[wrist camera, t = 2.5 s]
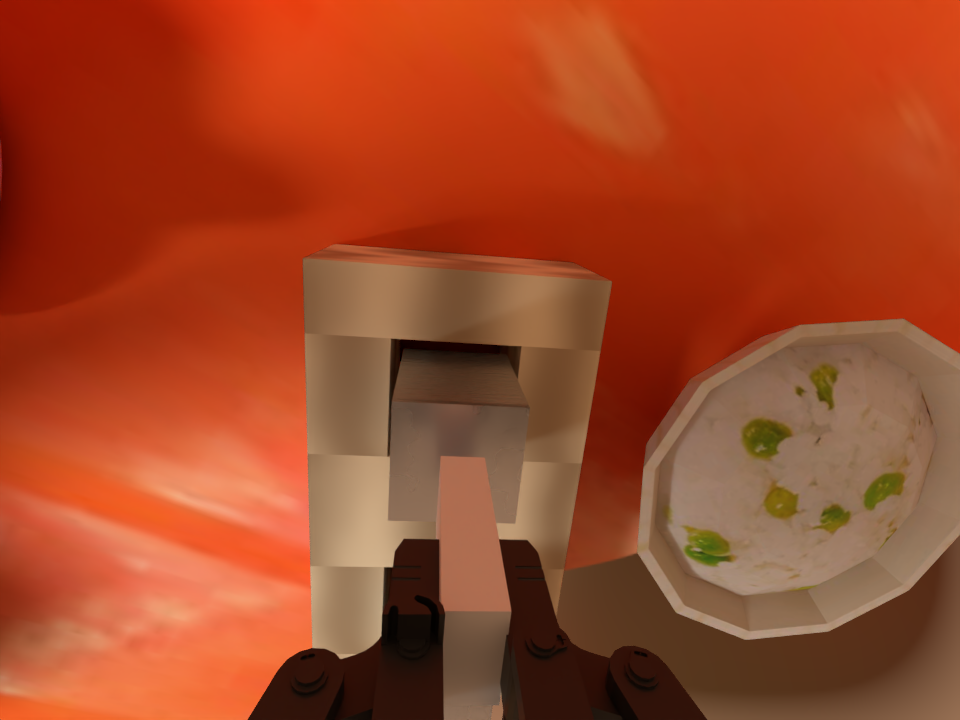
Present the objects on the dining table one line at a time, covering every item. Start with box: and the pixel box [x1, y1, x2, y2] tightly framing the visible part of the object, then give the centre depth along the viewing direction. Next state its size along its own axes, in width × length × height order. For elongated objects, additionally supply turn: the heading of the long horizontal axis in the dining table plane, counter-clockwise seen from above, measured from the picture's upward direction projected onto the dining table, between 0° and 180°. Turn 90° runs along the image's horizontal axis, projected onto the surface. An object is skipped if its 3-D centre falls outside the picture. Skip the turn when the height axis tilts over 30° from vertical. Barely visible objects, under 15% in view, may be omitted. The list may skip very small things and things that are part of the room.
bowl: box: [637, 319, 960, 640], centre depth 29 cm, size 19×19×10 cm
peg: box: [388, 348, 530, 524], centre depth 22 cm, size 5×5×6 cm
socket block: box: [303, 244, 612, 695], centre depth 30 cm, size 14×26×7 cm, turn 175°
